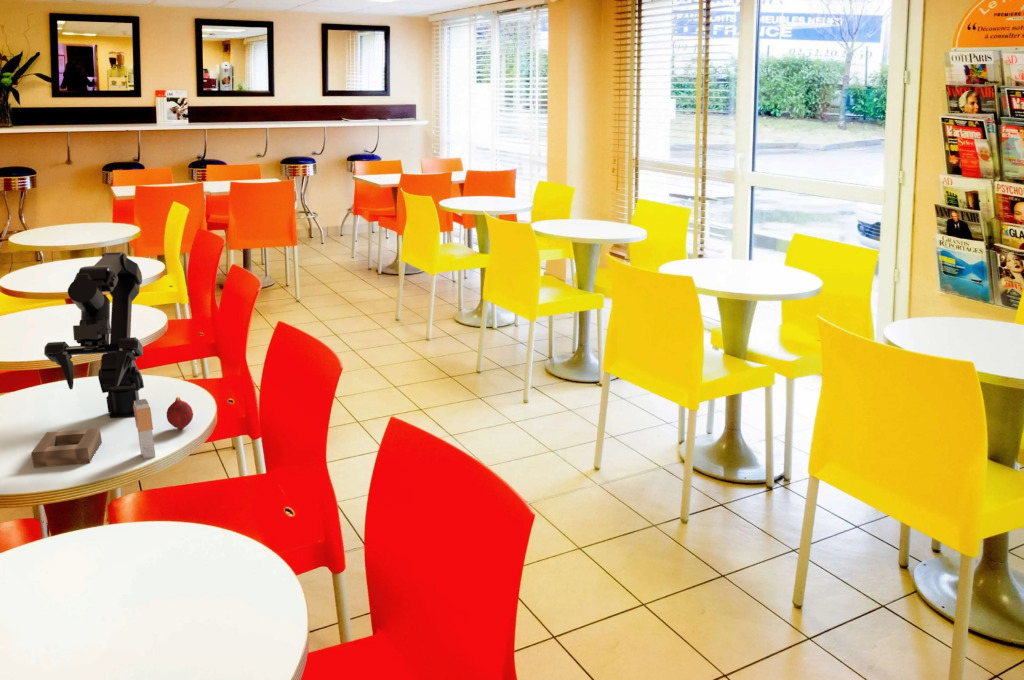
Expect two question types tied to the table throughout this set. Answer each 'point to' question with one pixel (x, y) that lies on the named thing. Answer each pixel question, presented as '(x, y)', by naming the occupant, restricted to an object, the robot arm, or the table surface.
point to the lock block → (66, 447)
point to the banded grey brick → (144, 428)
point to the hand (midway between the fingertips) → (94, 387)
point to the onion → (179, 414)
